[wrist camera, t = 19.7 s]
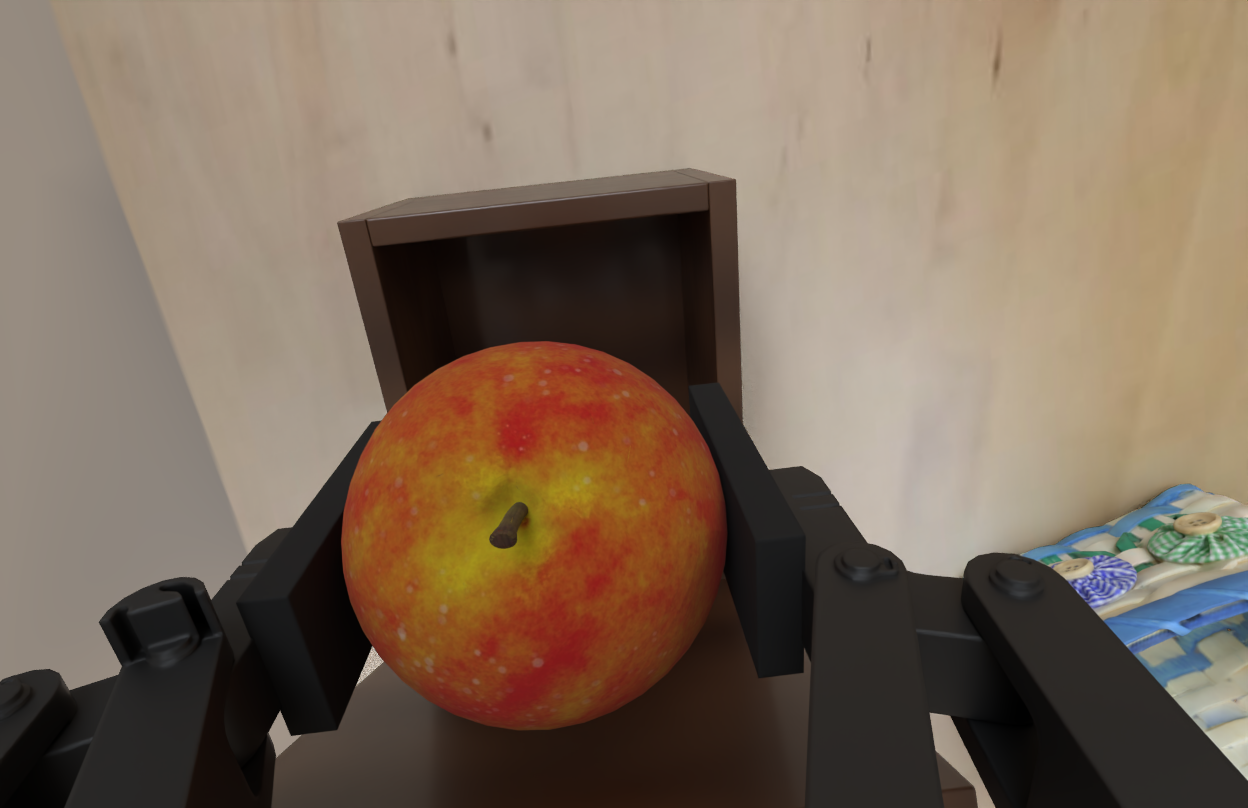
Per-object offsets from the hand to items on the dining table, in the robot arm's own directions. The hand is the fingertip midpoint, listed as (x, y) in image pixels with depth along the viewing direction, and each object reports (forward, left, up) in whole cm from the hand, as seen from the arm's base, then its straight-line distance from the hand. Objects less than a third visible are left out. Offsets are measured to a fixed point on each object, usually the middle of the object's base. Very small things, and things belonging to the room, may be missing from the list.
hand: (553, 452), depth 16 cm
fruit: (0, -2, +1) cm, 2 cm away
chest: (0, -2, -16) cm, 16 cm away
